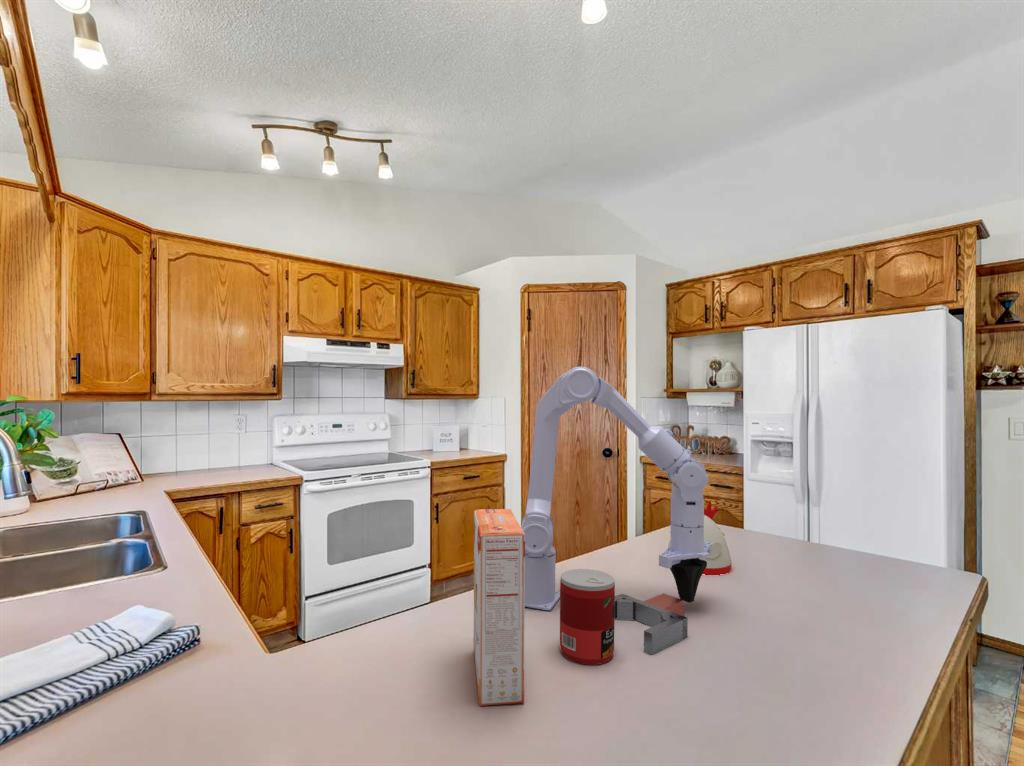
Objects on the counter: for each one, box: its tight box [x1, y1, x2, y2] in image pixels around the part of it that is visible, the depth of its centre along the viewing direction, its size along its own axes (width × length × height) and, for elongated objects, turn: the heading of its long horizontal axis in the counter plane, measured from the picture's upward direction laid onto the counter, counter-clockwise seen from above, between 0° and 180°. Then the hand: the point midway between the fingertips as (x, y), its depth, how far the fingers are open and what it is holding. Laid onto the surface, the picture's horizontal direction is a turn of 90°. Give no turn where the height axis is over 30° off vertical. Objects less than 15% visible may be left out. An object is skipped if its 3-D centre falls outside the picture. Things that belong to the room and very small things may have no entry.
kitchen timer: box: [667, 500, 732, 576], centre depth 118 cm, size 14×14×15 cm
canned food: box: [559, 568, 616, 666], centre depth 76 cm, size 8×8×11 cm
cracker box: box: [473, 508, 526, 707], centre depth 69 cm, size 14×6×21 cm, turn 7°
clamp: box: [614, 592, 689, 656], centre depth 85 cm, size 15×13×3 cm
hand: (686, 600), depth 93 cm, fingers closed
